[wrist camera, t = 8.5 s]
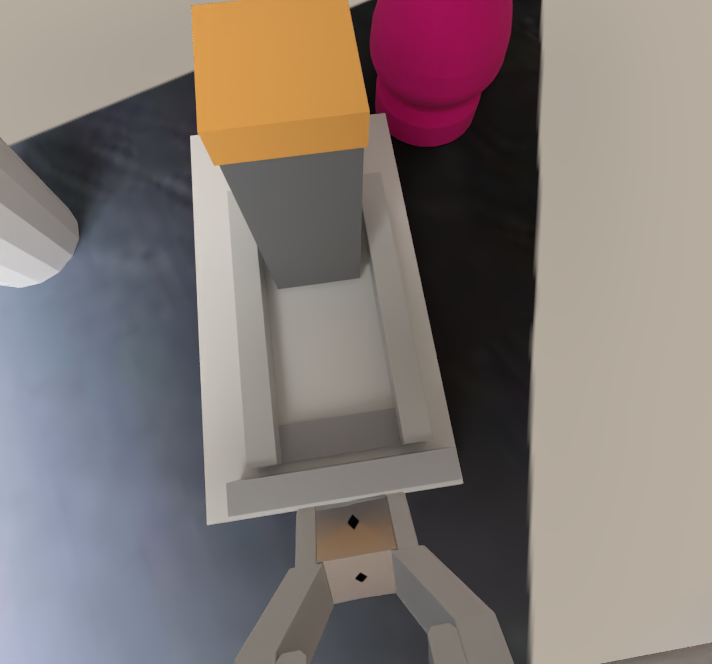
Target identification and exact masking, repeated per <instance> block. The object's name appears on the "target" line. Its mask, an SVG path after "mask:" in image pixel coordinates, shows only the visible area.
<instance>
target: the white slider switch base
mask: <svg viewBox="0 0 712 664" xmlns="http://www.w3.org/2000/svg"><path fill="white" fill-rule="evenodd" d="M190 141H191V164H192V187H193V211H194V234H195V257H196V280H197V304H198V327H199V350H200V373H201V397H202V420H203V443H204V466H205V490H206V513H207V525H212V524H218V523H224V522H230V521H236V520H242V519H248V518H255V517H261V516H267V515H273V514H279V513H285V512H292V511H298V509H302V508H308V507H314V506H321V505H328V504H335V503H342V502H349V501H351V500H356V499H362V498H367V497H373V496H378V495H383V494H385V495H386V494H392V493H398V492H404V493H409V492H415V491H421V490H427V489H433V488H439V487H445V486H452V485H458V484H463V479H462V475H461V470H460V465H459V460H458V456H457V451H456V446H455V441H454V437H453V432H452V427H451V422H450V418H449V413H448V408H447V403H446V399H445V394H444V389H443V384H442V380H441V375H440V370H439V365H438V361H437V356H436V351H435V346H434V342H433V337H432V332H431V327H430V323H429V318H428V313H427V309H426V304H425V299H424V294H423V290H422V285H421V280H420V275H419V271H418V266H417V261H416V256H415V252H414V247H413V242H412V237H411V233H410V228H409V223H408V218H407V214H406V209H405V204H404V199H403V195H402V190H401V185H400V180H399V176H398V171H397V166H396V161H395V157H394V152H393V147H392V142H391V138H390V133H389V128H388V123H387V119H386V114H385V113H380V114H372V115H370V119H369V140H368V147H365V148H364V160H363V191H362V222H361V253H360V278H357V279H350V280H342V281H335V282H328V283H320V284H313V285H306V286H299V287H291V288H284V289H278V288H277V286H276V284H275V282H274V279H273V277H272V275H271V273H270V271H269V269H268V267H267V265H266V263H265V261H264V258H263V256H262V254H261V252H260V250H259V248H258V246H257V244H256V242H255V240H254V237H253V235H252V233H251V231H250V229H249V227H248V225H247V223H246V221H245V219H244V216H243V214H242V212H241V210H240V208H239V206H238V204H237V202H236V200H235V198H234V195H233V193H232V191H231V189H230V187H229V185H228V183H227V181H226V179H225V177H224V175H223V172H222V170H221V168H220V166H219V165H218V166H214V165H213V163H212V160H211V158H210V156H209V154H208V152H207V150H206V148H205V146H204V144H203V142H202V140H201V138H200V136H199V135H194V136H190Z"/></svg>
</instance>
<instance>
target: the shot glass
mask: <svg viewBox="0 0 712 664" xmlns="http://www.w3.org/2000/svg"><path fill="white" fill-rule="evenodd" d="M78 241H79V230H78V222H77V220H76V219H75V217H74V216H73V214H72V213H71V211H70V210H69V208H68V207H67V206H66V205H65V204H64V203H63V202H62V201H61V200H60V199H59V198H58V197H57V196H56V195H55V194H54V193H53V192H52V191H51V190H50V189H49V187H48V186H47V185H46V184H45V183H44V182H43V181H42V180H41V179H40V178H39V177H38V176H37V175H36V174H35V173H34V172H33V171H32V170H31V169H30V168H29V167H28V166H27V165H26V164H25V163H24V162H23V160H22V159H21V158H20V157H19V156H18V155H17V154H16V153H15V152H14V151H13V150H12V149H11V148H10V147H9V146H8V145H7V144H6V143H5V142H4V141H3V140H2V139H1V138H0V285H3V286H11V287H18V288H22V287H26V286H30V285H35V284H39V283H42V282H44V281H45V280H47V279H49V278H50V277H52V276H54V275H55V274H57V273H59V272H60V271H61V270H62V269H63V267H64V266H65V265H66V264H67V263H68V261H69V260H70V259H71V258H72V257H73V255H74V252H75V249H76V246H77V244H78Z"/></svg>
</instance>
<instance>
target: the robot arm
mask: <svg viewBox="0 0 712 664" xmlns="http://www.w3.org/2000/svg"><path fill="white" fill-rule="evenodd" d="M391 593H397V595H398V597H399V598H400V599H401V601H402V602H403V603H404V605H405V606H406V607H407V608H408V610H409V611H410V612H411V614H412V615H413V616H414V617H415V619H416V620H417V621H418V623H419V624H420V625H421V627H422V628H423V629H424V630H425V632H426V633H427V634H428V653H429V664H514V662H513V660H512V657H511V655H510V652H509V649H508V647H507V644H506V641H505V639H504V636H503V633H502V631H501V628H500V626H499V623H498V620H497V618H496V615H495V613H494V612H493V611H492V610H491V609H490V608H489V607H488V606H487V605H486V604H485V603H484V602H483V601H482V600H481V599H480V598H479V597H477V596H476V595H475V594H474V593H473V592H472V591H471V590H470V589H469V588H468V587H467V586H466V585H465V584H464V583H463V582H462V581H461V580H460V579H459V578H458V577H457V576H456V575H455V574H454V573H453V572H451V571H450V570H449V569H448V568H447V567H446V566H445V565H444V564H443V563H442V562H441V561H440V560H439V559H438V558H437V557H436V556H435V555H434V554H433V553H432V552H431V551H430V550H429V549H428V548H427V547H425V546H424V545H422V546H419V545H418V541H417V537H416V533H415V530H414V526H413V522H412V518H411V514H410V511H409V507H408V503H407V499H406V495H405V494H404V492H398V493H392V494H386V495H385V494H383V495H378V496H373V497H367V498H362V499H356V500H351V501H349V502H342V503H335V504H328V505H321V506H314V507H308V508H302V509H298V511H297V515H296V552H295V568H291V569H289V571H288V572H287V574H286V576H285V577H284V579H283V581H282V582H281V584H280V586H279V587H278V589H277V591H276V592H275V594H274V595H273V597H272V599H271V600H270V602H269V604H268V605H267V607H266V609H265V610H264V612H263V614H262V615H261V617H260V619H259V620H258V622H257V624H256V625H255V627H254V629H253V630H252V632H251V634H250V635H249V637H248V639H247V640H246V642H245V644H244V645H243V647H242V649H241V650H240V652H239V653H238V655H237V657H236V658H235V660H234V664H310V662H311V660H312V658H313V655H314V653H315V650H316V648H317V645H318V643H319V641H320V638H321V636H322V633H323V631H324V628H325V626H326V623H327V621H328V619H329V616H330V614H331V611H332V609H333V604H336V603H340V602H345V601H350V600H355V599H359V598H364V597H371V596H377V595H384V594H391ZM602 664H712V643H708V644H702V645H697V646H692V647H687V648H682V649H676V650H671V651H666V652H660V653H655V654H650V655H644V656H639V657H634V658H629V659H623V660H618V661H613V662H608V663H602Z"/></svg>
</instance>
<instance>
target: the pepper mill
mask: <svg viewBox="0 0 712 664" xmlns="http://www.w3.org/2000/svg"><path fill="white" fill-rule="evenodd" d="M512 8H513V5H512V0H378V1H377V4H376V7H375V10H374V14H373V19H372V27H371V34H370V54H371V58H372V62H373V65H374V67H375V70H376V72H377V73H378V76H377V82H376V97H375V109H376V114H380V113H385V114H386V119H387V123H388V128H389V133H390V134H391V135H392V136H394V137H395V138H396V139H398V140H400V141H402V142H404V143H407V144H410V145H414V146H419V147H436V146H440V145H443V144H447V143H450V142H452V141H454V140H455V139H457V138H458V137H460V136H461V135H462V134H463V133H464V132H465V131H466V130H467V129H468V127H469V126H470V124H471V122H472V120H473V117H474V114H475V111H476V109H477V106H478V103H479V100H480V96H481V92H482V91H483V90H484V89H485V88H486V87H488V85H489V84H490V83H491V82H492V81H493V80H494V78H495V77H496V75H497V74H498V72H499V70H500V68H501V66H502V64H503V61H504V57H505V54H506V50H507V47H508V43H509V39H510V35H511V25H512Z"/></svg>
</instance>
